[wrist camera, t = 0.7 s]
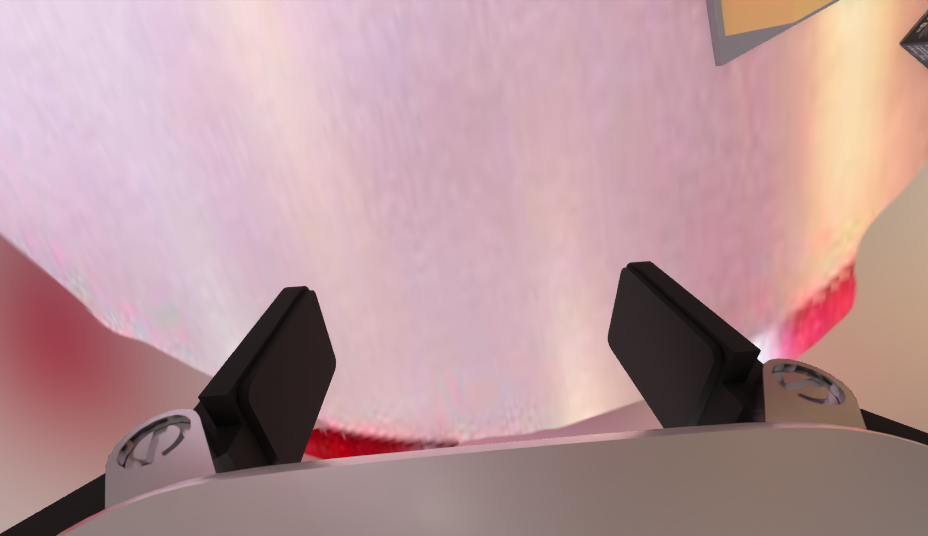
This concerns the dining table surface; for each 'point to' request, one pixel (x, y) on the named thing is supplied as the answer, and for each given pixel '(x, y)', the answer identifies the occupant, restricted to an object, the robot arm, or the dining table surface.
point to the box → (918, 41)
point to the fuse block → (754, 22)
